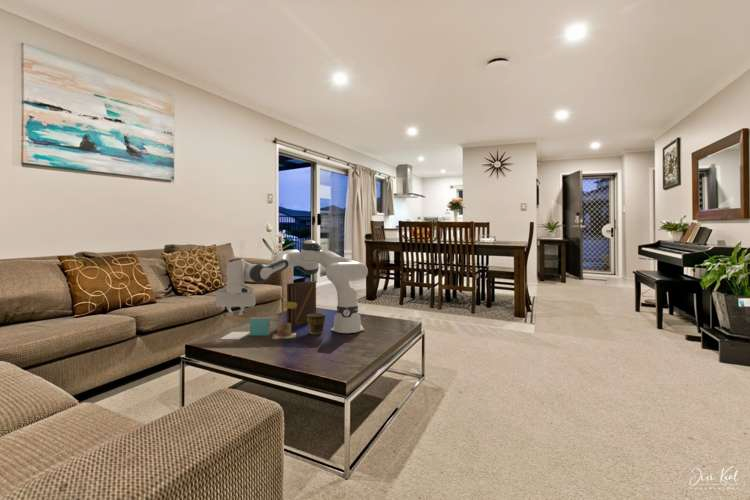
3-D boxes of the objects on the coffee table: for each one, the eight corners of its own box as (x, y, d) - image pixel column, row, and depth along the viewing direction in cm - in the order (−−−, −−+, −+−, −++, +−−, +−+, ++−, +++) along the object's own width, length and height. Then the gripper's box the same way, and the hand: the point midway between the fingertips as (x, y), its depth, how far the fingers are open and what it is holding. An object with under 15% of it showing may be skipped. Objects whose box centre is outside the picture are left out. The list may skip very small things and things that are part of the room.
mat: (232, 332, 195) (232, 331, 195) (250, 332, 195) (250, 331, 195) (220, 339, 180) (220, 338, 180) (239, 339, 180) (239, 338, 180)
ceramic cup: (312, 330, 200) (312, 312, 200) (328, 331, 197) (328, 313, 197) (300, 335, 188) (300, 316, 188) (317, 337, 185) (317, 318, 185)
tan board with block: (272, 339, 181) (272, 325, 181) (273, 336, 188) (273, 323, 188) (296, 338, 184) (296, 324, 184) (296, 334, 191) (296, 321, 191)
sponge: (251, 334, 191) (251, 317, 191) (269, 334, 191) (269, 317, 191) (250, 335, 189) (249, 318, 189) (268, 335, 189) (268, 318, 189)
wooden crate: (308, 319, 229) (308, 281, 229) (318, 321, 224) (318, 282, 224) (281, 326, 211) (281, 284, 211) (291, 327, 206) (291, 285, 206)
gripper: (213, 289, 184) (213, 316, 185) (252, 289, 184) (252, 316, 184) (218, 288, 191) (218, 313, 191) (256, 288, 191) (256, 313, 191)
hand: (235, 314), depth 188 cm, fingers open, 3 cm apart
